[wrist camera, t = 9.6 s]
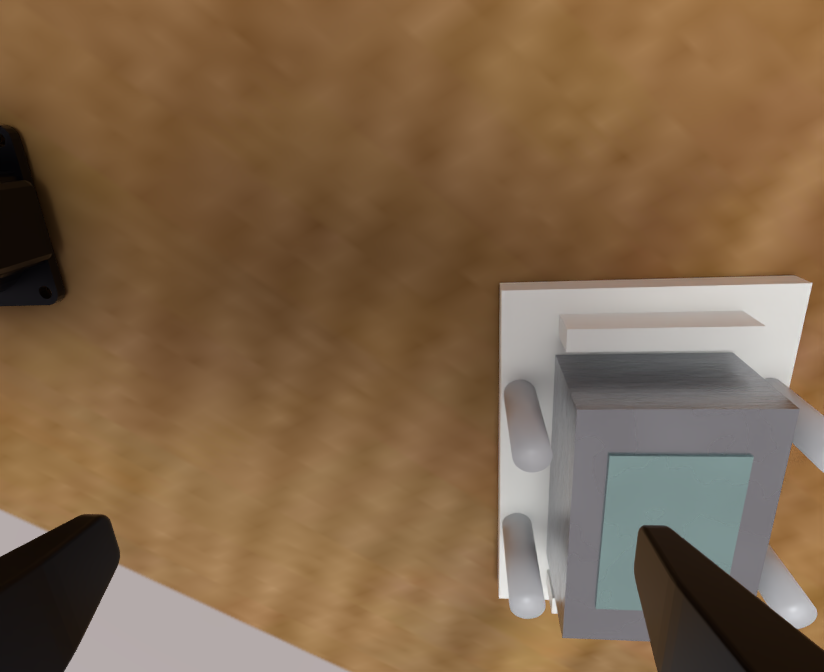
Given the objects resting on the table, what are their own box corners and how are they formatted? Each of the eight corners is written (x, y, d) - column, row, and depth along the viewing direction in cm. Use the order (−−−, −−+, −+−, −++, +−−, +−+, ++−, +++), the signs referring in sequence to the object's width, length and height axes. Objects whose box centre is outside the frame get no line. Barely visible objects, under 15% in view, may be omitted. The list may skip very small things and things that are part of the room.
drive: (546, 552, 22) (563, 640, 19) (555, 355, 19) (577, 411, 15) (697, 556, 22) (746, 647, 18) (732, 352, 19) (801, 410, 15)
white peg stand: (497, 580, 24) (505, 686, 20) (499, 282, 19) (510, 332, 15) (729, 587, 23) (794, 701, 19) (794, 275, 18) (906, 325, 14)
